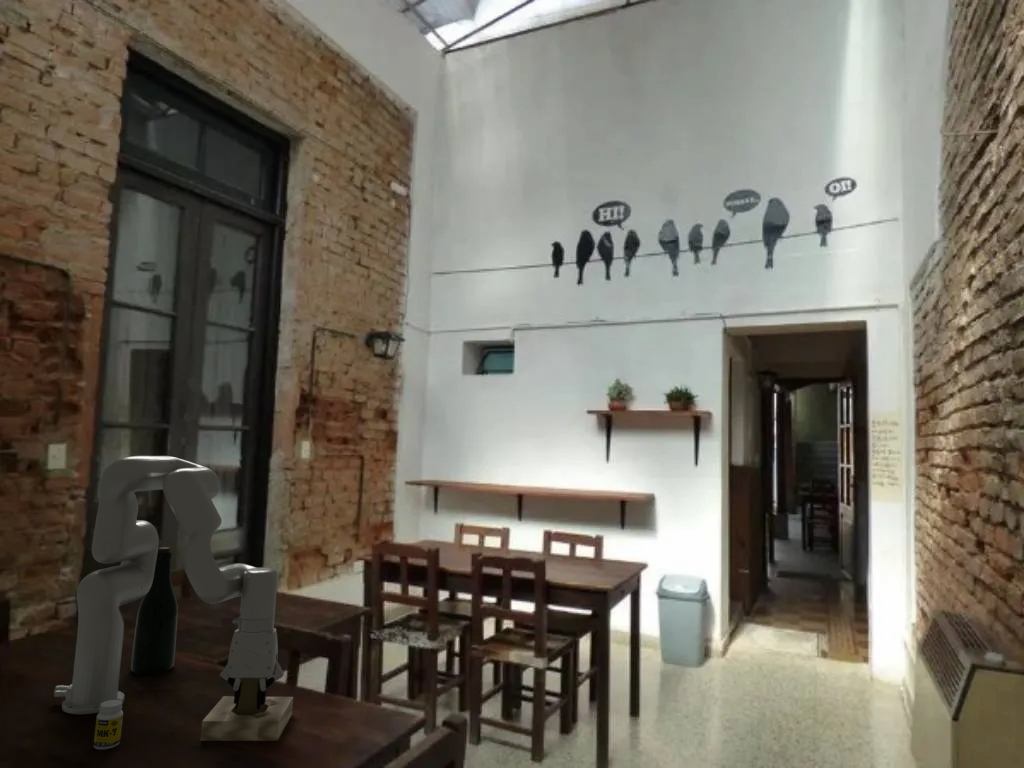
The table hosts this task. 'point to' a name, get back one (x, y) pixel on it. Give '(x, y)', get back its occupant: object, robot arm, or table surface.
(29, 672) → the table surface
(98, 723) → the supplement bottle
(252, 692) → the cork
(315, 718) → the table surface
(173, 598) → the wine bottle
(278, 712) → the jig
